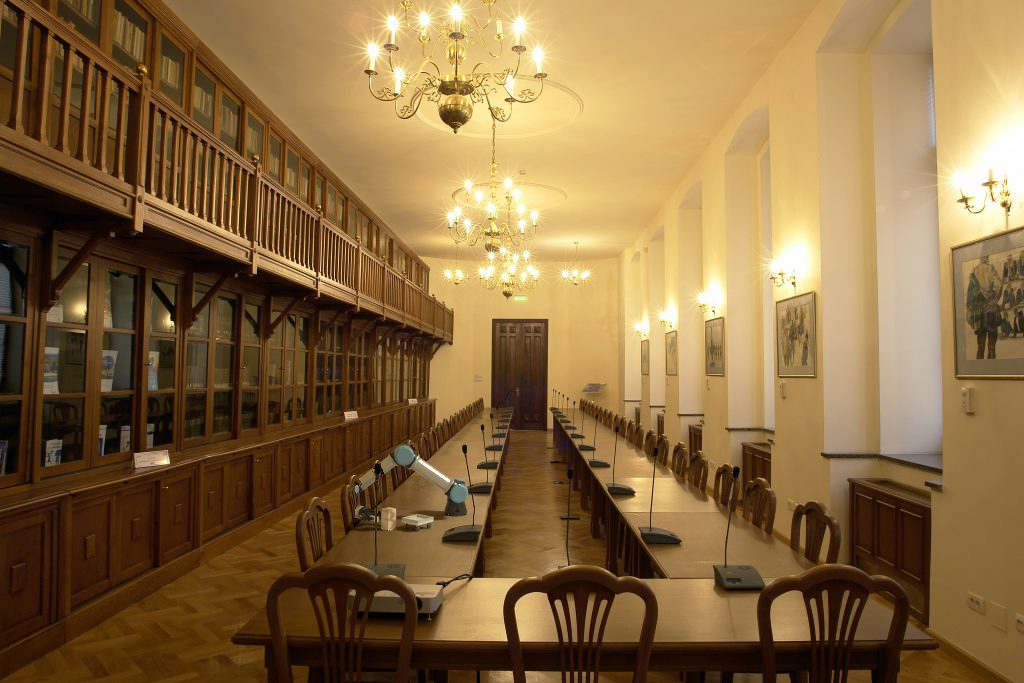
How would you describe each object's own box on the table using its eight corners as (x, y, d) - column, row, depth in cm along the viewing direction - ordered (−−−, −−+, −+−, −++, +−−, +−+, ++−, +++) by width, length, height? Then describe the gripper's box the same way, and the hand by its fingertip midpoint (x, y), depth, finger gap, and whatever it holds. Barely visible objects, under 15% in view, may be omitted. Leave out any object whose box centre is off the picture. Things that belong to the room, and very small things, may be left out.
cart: (417, 524, 404) (417, 513, 404) (433, 527, 396) (433, 516, 396) (401, 528, 393) (401, 517, 393) (417, 531, 385) (417, 520, 386)
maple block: (388, 527, 396) (389, 507, 397) (395, 529, 393) (396, 508, 393) (381, 529, 391) (381, 508, 392) (388, 531, 388) (388, 510, 388)
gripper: (378, 515, 415) (402, 520, 402) (346, 522, 395) (370, 527, 382) (378, 503, 415) (402, 507, 403) (346, 509, 395) (370, 514, 383)
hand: (386, 517), depth 393 cm, fingers open, 13 cm apart
